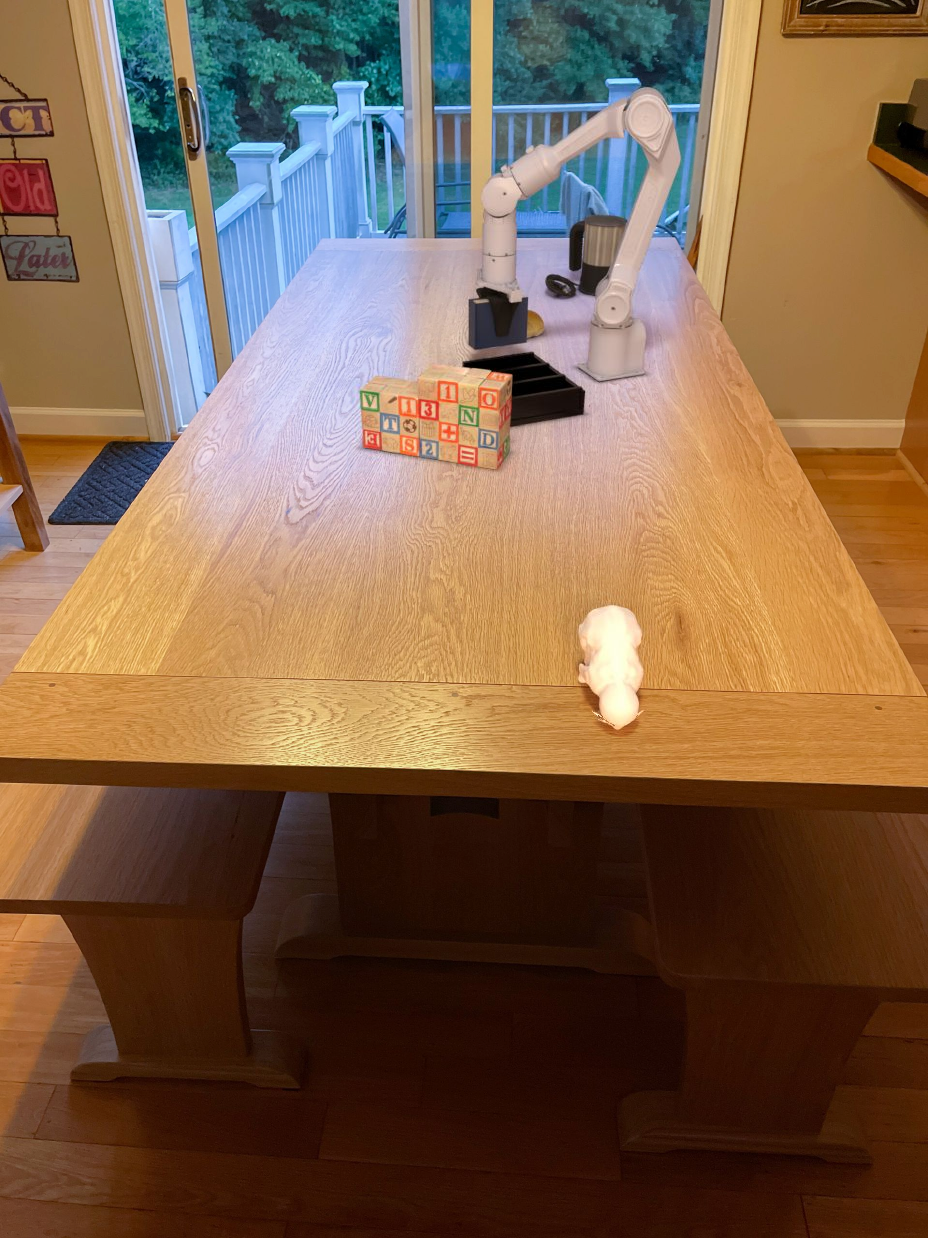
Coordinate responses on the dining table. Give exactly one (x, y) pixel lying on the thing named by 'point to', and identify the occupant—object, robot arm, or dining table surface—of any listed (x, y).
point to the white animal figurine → (612, 662)
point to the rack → (535, 388)
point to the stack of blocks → (440, 415)
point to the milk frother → (590, 253)
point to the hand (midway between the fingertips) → (497, 332)
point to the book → (483, 325)
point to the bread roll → (534, 324)
